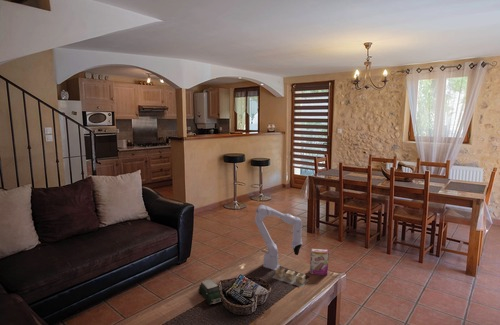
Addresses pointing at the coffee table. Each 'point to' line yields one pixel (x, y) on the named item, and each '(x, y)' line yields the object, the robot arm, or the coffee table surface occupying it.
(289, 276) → the plain block
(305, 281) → the mat
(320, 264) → the candy bar box
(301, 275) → the block two
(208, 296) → the miniature car
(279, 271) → the block one
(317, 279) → the coffee table surface
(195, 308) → the coffee table surface
